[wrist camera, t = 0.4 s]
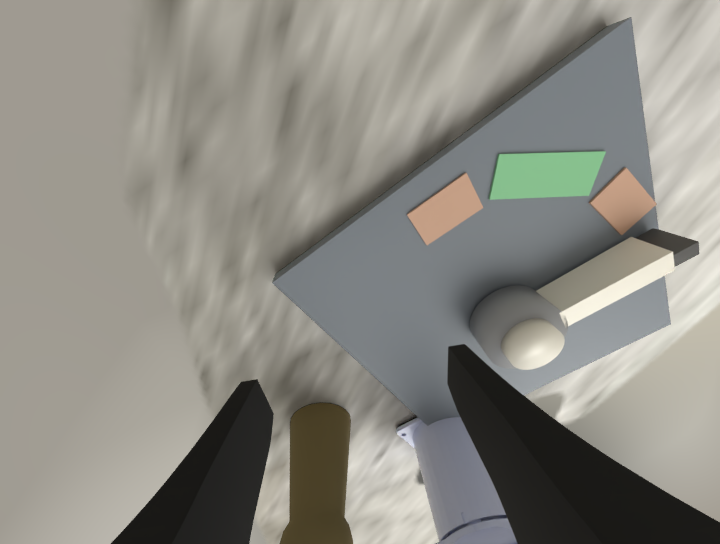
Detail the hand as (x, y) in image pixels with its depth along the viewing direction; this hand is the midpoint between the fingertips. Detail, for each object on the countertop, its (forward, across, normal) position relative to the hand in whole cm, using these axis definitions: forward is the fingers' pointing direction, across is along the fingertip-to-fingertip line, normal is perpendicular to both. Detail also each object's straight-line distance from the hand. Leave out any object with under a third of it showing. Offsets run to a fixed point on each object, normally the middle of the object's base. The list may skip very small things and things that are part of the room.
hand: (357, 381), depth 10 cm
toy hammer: (+8, -15, +4) cm, 18 cm away
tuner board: (+10, -11, +5) cm, 15 cm away
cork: (+10, +5, +17) cm, 20 cm away
